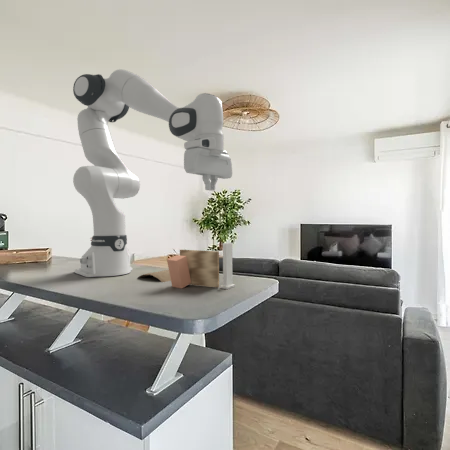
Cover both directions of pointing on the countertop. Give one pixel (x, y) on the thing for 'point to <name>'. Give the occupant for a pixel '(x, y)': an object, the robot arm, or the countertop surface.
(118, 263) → the robot arm
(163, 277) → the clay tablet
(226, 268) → the wall post
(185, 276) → the block
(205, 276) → the oak door
